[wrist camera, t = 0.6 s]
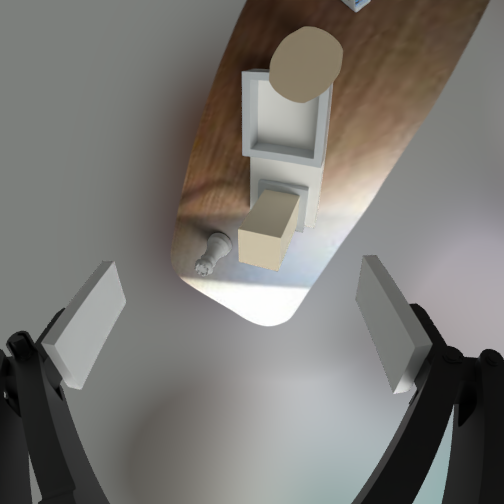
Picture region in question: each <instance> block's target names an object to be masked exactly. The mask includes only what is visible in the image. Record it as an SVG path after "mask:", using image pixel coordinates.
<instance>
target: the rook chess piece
mask: <svg viewBox="0 0 504 504" xmlns="http://www.w3.org/2000/svg"><path fill="white" fill-rule="evenodd" d="M231 248H232V244H231V241H230V239H229V238H228V237H227V236H226V235H224V234H222V233H214V234H212V235H211V236H210V238H209V239H208V242H207V250H206V252H205V254H204V255H202V256H201V259H198V260H197V261H196V263H195V264H196V266H195V270H196V271H197V270H198V272H197V273H198V274H200V273H202V276H205V275H206V276H207V275H208V274H211V273H212V272H213V267H214V266H215V265H216V261H217V260H218V259H219V258H220V257H223V256H225V255H227V254H228V253H229V251H230V250H231Z"/></svg>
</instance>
